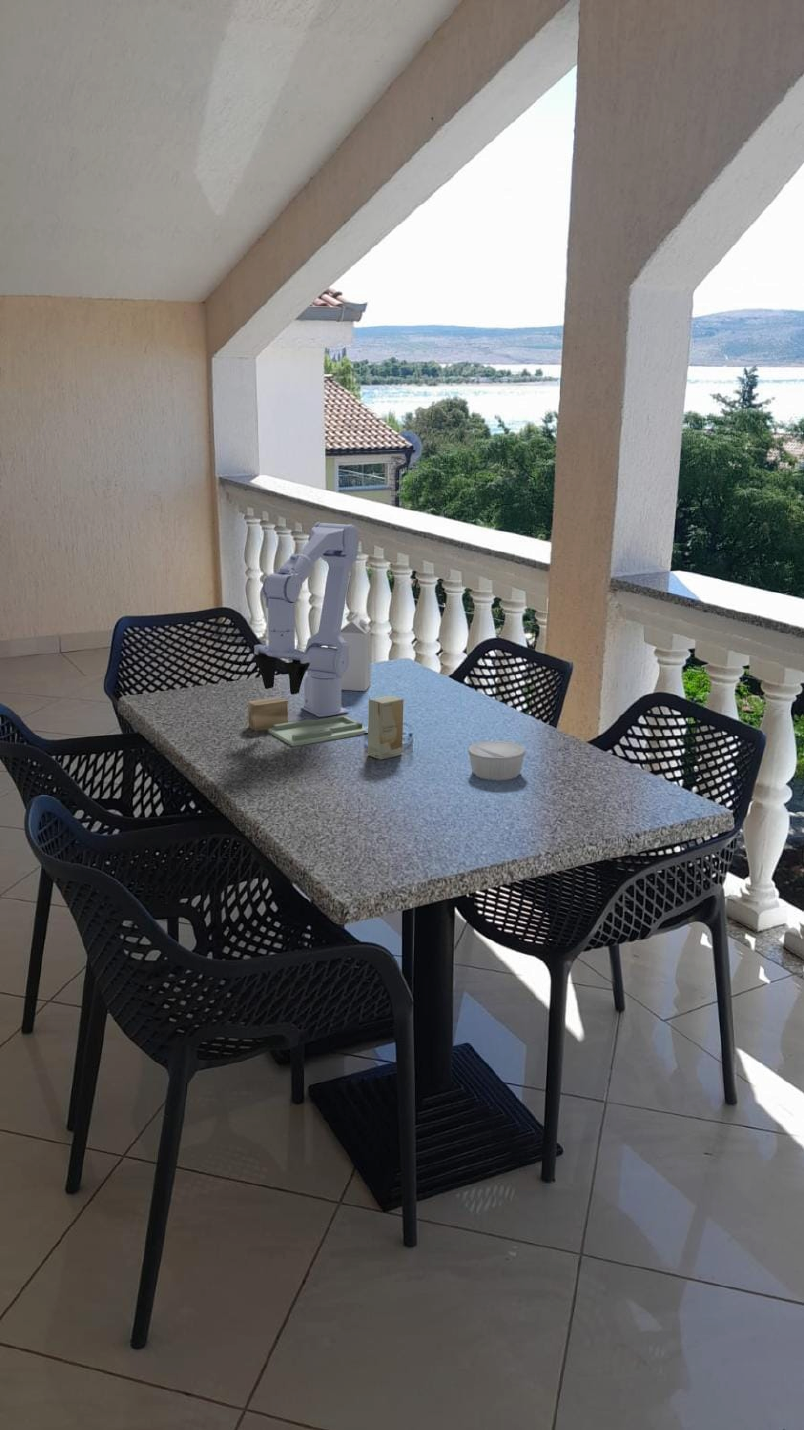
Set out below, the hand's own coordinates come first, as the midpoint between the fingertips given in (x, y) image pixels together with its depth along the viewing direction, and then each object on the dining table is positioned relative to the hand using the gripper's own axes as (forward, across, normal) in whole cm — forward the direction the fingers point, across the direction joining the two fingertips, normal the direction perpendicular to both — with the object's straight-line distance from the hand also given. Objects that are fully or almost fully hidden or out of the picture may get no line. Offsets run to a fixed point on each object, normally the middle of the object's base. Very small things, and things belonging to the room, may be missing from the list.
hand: (281, 690), depth 243 cm
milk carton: (+9, -13, +41) cm, 44 cm away
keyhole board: (+10, +6, +6) cm, 13 cm away
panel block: (+10, -6, +2) cm, 12 cm away
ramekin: (+10, +51, +7) cm, 53 cm away
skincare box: (+10, +27, +2) cm, 29 cm away
